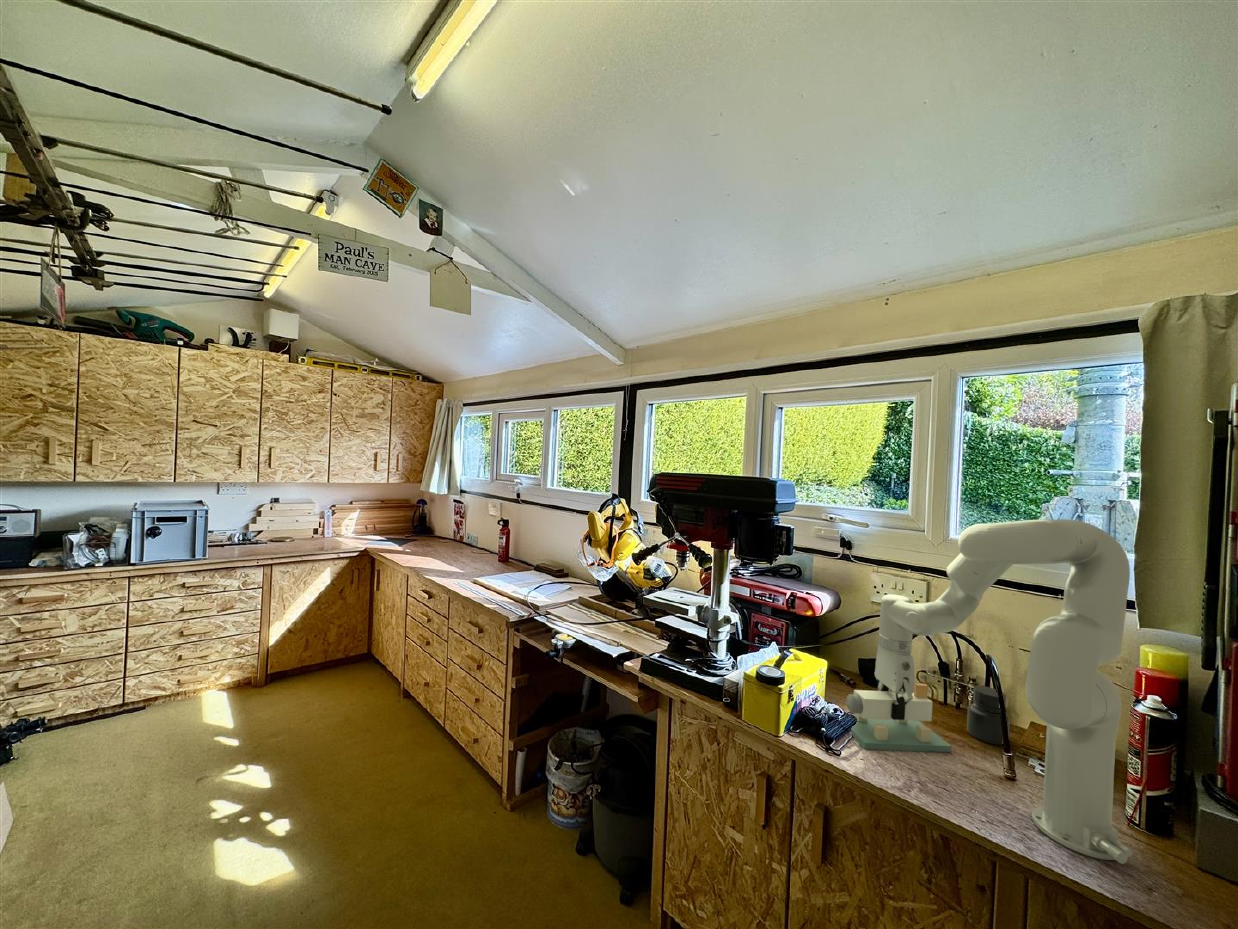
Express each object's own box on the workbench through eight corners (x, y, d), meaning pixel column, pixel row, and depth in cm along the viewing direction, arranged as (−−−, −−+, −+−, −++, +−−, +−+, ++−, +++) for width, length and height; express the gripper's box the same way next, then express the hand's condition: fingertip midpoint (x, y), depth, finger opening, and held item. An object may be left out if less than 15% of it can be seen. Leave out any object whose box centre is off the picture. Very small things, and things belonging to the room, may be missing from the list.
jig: (951, 752, 119) (952, 733, 119) (864, 749, 118) (865, 730, 118) (914, 722, 133) (914, 706, 133) (836, 719, 132) (836, 703, 132)
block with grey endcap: (931, 721, 123) (933, 689, 124) (855, 718, 123) (857, 686, 123) (918, 711, 128) (920, 680, 129) (845, 708, 128) (847, 677, 128)
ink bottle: (1019, 745, 124) (1021, 698, 125) (995, 749, 121) (998, 701, 122) (979, 725, 133) (981, 682, 134) (957, 729, 131) (959, 685, 131)
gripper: (931, 657, 117) (927, 732, 117) (889, 633, 134) (885, 698, 134) (901, 655, 117) (897, 730, 117) (863, 631, 134) (859, 697, 134)
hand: (890, 712), depth 126 cm, fingers closed on block with grey endcap, 5 cm apart
